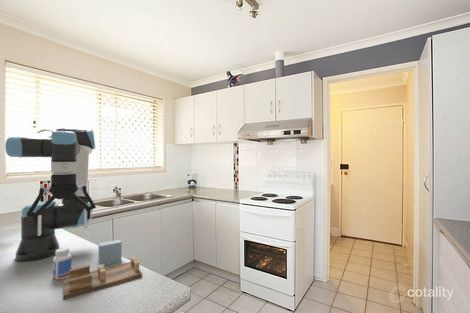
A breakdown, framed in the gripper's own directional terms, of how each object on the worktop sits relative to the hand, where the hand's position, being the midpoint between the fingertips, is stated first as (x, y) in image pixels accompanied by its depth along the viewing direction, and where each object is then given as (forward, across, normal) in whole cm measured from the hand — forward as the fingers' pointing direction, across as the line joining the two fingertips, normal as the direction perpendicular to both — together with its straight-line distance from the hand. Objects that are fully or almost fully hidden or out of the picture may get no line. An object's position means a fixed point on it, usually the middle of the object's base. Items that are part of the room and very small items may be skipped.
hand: (63, 231), depth 85 cm
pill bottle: (+17, 0, 0) cm, 17 cm away
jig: (+16, +12, -12) cm, 23 cm away
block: (+17, +16, +3) cm, 23 cm away
